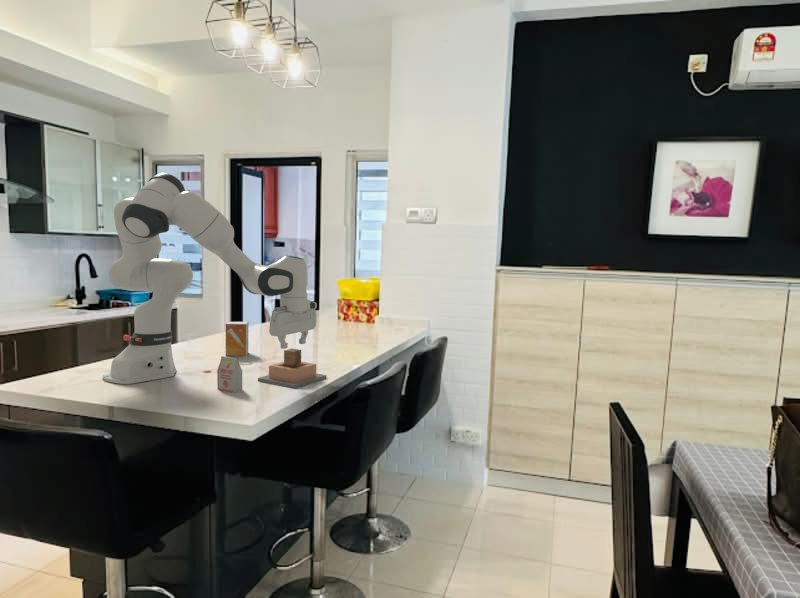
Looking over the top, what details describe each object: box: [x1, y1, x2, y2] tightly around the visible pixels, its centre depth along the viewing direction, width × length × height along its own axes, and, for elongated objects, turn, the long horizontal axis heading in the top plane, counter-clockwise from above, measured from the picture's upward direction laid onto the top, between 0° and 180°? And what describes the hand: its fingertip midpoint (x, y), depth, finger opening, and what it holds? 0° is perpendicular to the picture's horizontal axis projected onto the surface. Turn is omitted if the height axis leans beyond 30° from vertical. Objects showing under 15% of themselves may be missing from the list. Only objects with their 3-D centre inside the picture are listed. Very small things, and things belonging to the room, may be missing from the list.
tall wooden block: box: [283, 348, 302, 368], centre depth 174 cm, size 4×4×9 cm
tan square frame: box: [257, 361, 327, 389], centre depth 174 cm, size 16×16×5 cm
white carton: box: [216, 355, 243, 394], centre depth 160 cm, size 4×7×10 cm, turn 60°
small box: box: [225, 321, 249, 357], centre depth 211 cm, size 8×6×13 cm
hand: (293, 346), depth 174 cm, fingers open, 8 cm apart
